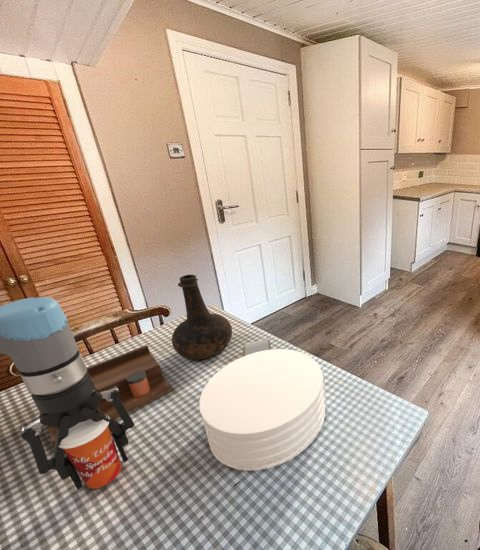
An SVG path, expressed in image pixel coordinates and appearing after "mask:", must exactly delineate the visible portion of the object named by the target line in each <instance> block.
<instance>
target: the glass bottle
mask: <svg viewBox="0 0 480 550" xmlns="http://www.w3.org/2000/svg"><path fill="white" fill-rule="evenodd" d="M198 280H199V279H198V278H197V275H196V274H186V275H182V276H181V277H179V282H178V284H177V286H178V287H180V288H181V290H182V293H183V300H184V304H185V311H186V319H184V320H183V321H181V323H179V324H178V325H177V326H176V327H175V329H174V331H173V333H172V336H171V344H172V348H173V349H174V351H175V352H176V353H177V354H178V355H180V356H181V357H183V358H186V359H189V360H193V361H200V360H207V359H210V358H213V357H215V356H217V355H219V354H220V353H221V352H222V351H224V350H225V349H226V348H227V347H228V345H229V344H230V342H231V339H232V336H233V328H232V324H231V323H230V321H229V320H228V319H227V318H226V317H224V316H223V315H221V314H218V313H211V312H210V310H209V309H208V308H207V305H206V303H205V301H204V298H203V296H202V293H201V290H200V286H199V284H198Z"/></svg>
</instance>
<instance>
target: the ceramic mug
mask: <svg viewBox="0 0 480 550" xmlns="http://www.w3.org/2000/svg"><path fill="white" fill-rule="evenodd" d="M265 350H272V347H271V341H270V339H269V338H265V339H262V340H257V341H254V342H253V341H252V342H249V343H246V344H244V345H243V346H242V357H244V356H246V355H249V354H252V353H256V352H260V351H265Z"/></svg>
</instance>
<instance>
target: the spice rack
mask: <svg viewBox="0 0 480 550" xmlns="http://www.w3.org/2000/svg"><path fill="white" fill-rule="evenodd" d="M160 365H161V364H160V363H159V362H158V361H157V359H156V358H155V357H154V355H153V354H152V353H151V351H150V348H149V345H148V344H146V345H143V346H141V347H137V348H135V349H132V350H130V351H128V352H124V353H122V354H119V355H117V356H114V357H112V358H109V359H106V360H103V361H100V362H98V363H96V364H93V365H90V366H87V372H88V373H89V374H90V377H91V379H92V381H93V384H94V386H95V388H96V389H97V390H99V391H100V392H103V391H107V390H110V388H111V387H112V386H117V388H118V390H119V392H120V400H121V402H122V404H123V405H124V407H125V409H126V410H127V412H128V414H130V413H131V412H132V411H135V410H136V409H139V408H141V407H143V406H145V405H147V404H148V403H150V402H152V401H155V400H157V399H159V398H162V397H163V396H165V395H167V394H169V393H171V392H172V391H173V390H172V387H171V384H170V383H169V381H168V380H167V379H166V378H165V377H164V375H163V372H162V369H161V366H160ZM136 371H145V372H146V375H147V379H148V382H149V385H150V388H151V389H150V391H149V392H148V393H147V394H145V395H143V396H140V397H134V396H133V394H132V392H131V389H130V386H129V384H128V382H127V380H126V378H127V377H128V376H129V375H130V374H131V373H133V372H136ZM98 408H99V409H100V410H101V411H102V412H104V413H105V414H107V415H108V416H109V417H111V418H112V419H114V420H117V419H119V418H121V417H120V415H119V414H118V412H117V411H116V409H115V407H114V405H113V403H112V402H109V401H107V400H106V399H104V398H103V399H102V400H101V402H100V404H99V406H98ZM47 427H48V431H49V437H50V442H51V444H52V446H53V448H54V449H55V440H56V431H57V427H52V426H47Z"/></svg>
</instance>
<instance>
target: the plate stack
mask: <svg viewBox="0 0 480 550" xmlns="http://www.w3.org/2000/svg"><path fill="white" fill-rule="evenodd" d="M323 377H324V376H323V371H322V368H321V367H320V364H319V363H318V362H317V361H316V360H315V359H314V358H312V357H311V356H310V355H307V354H306V353H305V352H301V351H298V350H293V349H287V348H286V349H285V348H273V349H272V348H271V350H265V351H260V352H256V353H252V354H249V355H246V356H244V357H243V356H241V357H239V358H237V359H235V360H232V361H231V362H229V363H228V364H227V365H224V366H223V367H222V368H221V369H219V370H218V371H217V372H215V374H214V375H212V377H211V378H210V379H209V380H208V382H207V383H206V384H205V386H204V387H203V390H202V391H201V394H200V397H199V400H198V408H199V413H200V416H201V420H202V423H203V426H204V431H205V434H206V438H207V441H208V444H209V449H210V451H211V453H212V454H213V456H214V458H216V459H217V460H218V461H219V462H220V463H222V465H225V466H226V467H229V468H232V469H235V470H240V471H248V472H249V471H261V470H267V469H270V468H274V467H278V466H280V465H282V464H284V463H286V462H288V461H290V460H292V459H294V458H295V457H296V456H298V455H300V454H301V453H302V452H304V450H306V449H307V448H308V447H309V446H310V445H311V444H312V443H313V442H314V440H315V439H316V438H317V436H318V435H319V433H320V431H321V429H322V427H323V425H324V421H325V418H326V417H325V416H326V404H325V392H324V378H323Z"/></svg>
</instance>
